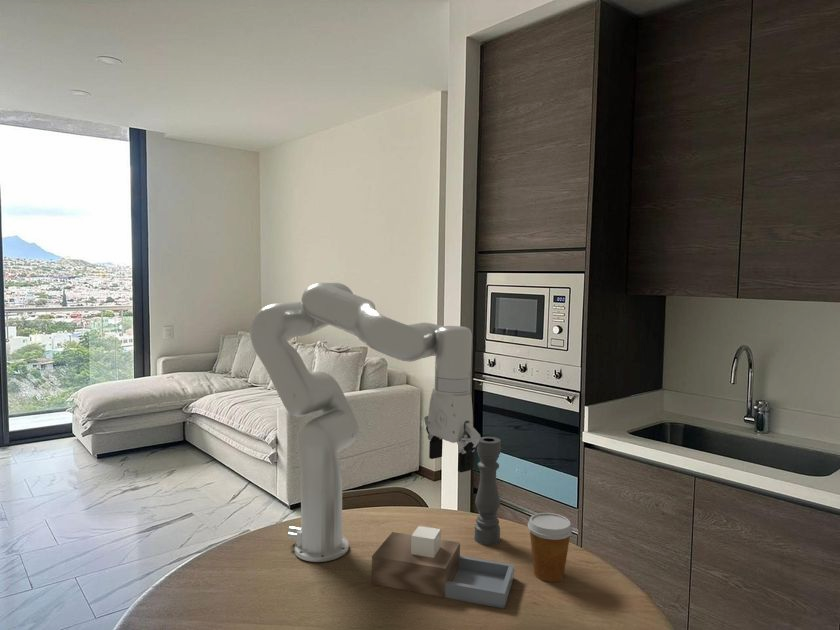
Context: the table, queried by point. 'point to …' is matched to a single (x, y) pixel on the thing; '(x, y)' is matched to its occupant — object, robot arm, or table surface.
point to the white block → (425, 541)
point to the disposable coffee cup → (549, 545)
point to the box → (481, 582)
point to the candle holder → (488, 492)
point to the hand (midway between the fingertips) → (449, 464)
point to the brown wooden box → (414, 566)
